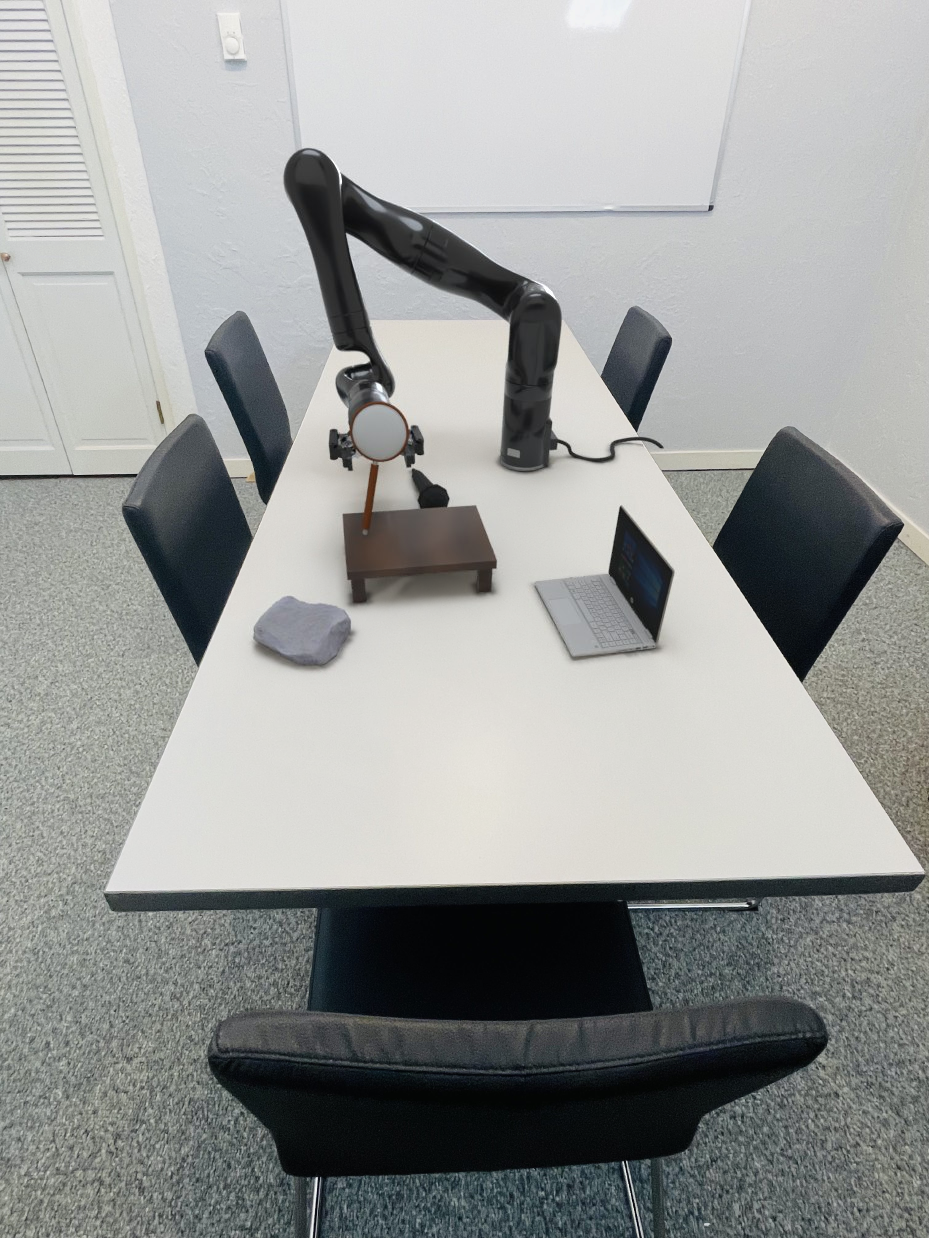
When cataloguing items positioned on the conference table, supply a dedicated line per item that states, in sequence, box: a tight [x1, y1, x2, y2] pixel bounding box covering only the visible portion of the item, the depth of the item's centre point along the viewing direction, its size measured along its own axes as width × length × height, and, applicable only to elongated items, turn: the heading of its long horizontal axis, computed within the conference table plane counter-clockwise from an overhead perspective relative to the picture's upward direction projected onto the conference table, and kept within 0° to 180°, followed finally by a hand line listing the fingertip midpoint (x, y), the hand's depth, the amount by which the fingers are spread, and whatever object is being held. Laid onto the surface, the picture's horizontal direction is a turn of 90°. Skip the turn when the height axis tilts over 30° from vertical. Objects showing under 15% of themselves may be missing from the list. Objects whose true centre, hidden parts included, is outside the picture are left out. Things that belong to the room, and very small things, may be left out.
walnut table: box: [342, 504, 498, 604], centre depth 112 cm, size 22×17×6 cm
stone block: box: [252, 595, 352, 666], centre depth 98 cm, size 12×5×10 cm
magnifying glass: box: [349, 401, 410, 535], centre depth 106 cm, size 9×2×20 cm, turn 86°
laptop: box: [534, 505, 676, 657], centre depth 101 cm, size 18×12×13 cm
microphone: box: [411, 467, 450, 509], centre depth 132 cm, size 6×6×20 cm
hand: (379, 463), depth 103 cm, fingers open, 8 cm apart
